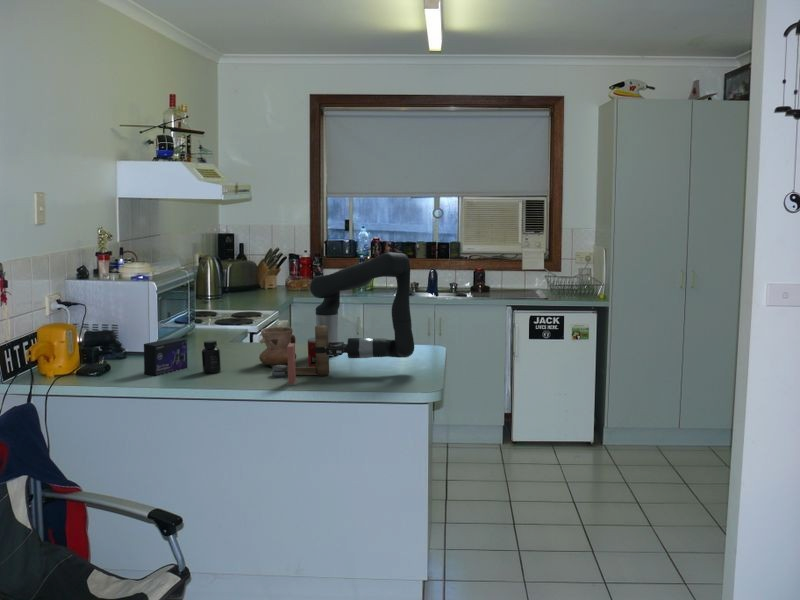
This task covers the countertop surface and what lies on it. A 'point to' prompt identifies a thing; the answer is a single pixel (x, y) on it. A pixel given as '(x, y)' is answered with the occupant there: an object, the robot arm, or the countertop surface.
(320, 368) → the brown l-shaped piece
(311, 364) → the canned food
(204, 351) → the supplement bottle
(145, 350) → the box
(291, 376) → the block
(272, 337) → the ceramic jug
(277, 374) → the pivot disc
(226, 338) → the countertop surface
